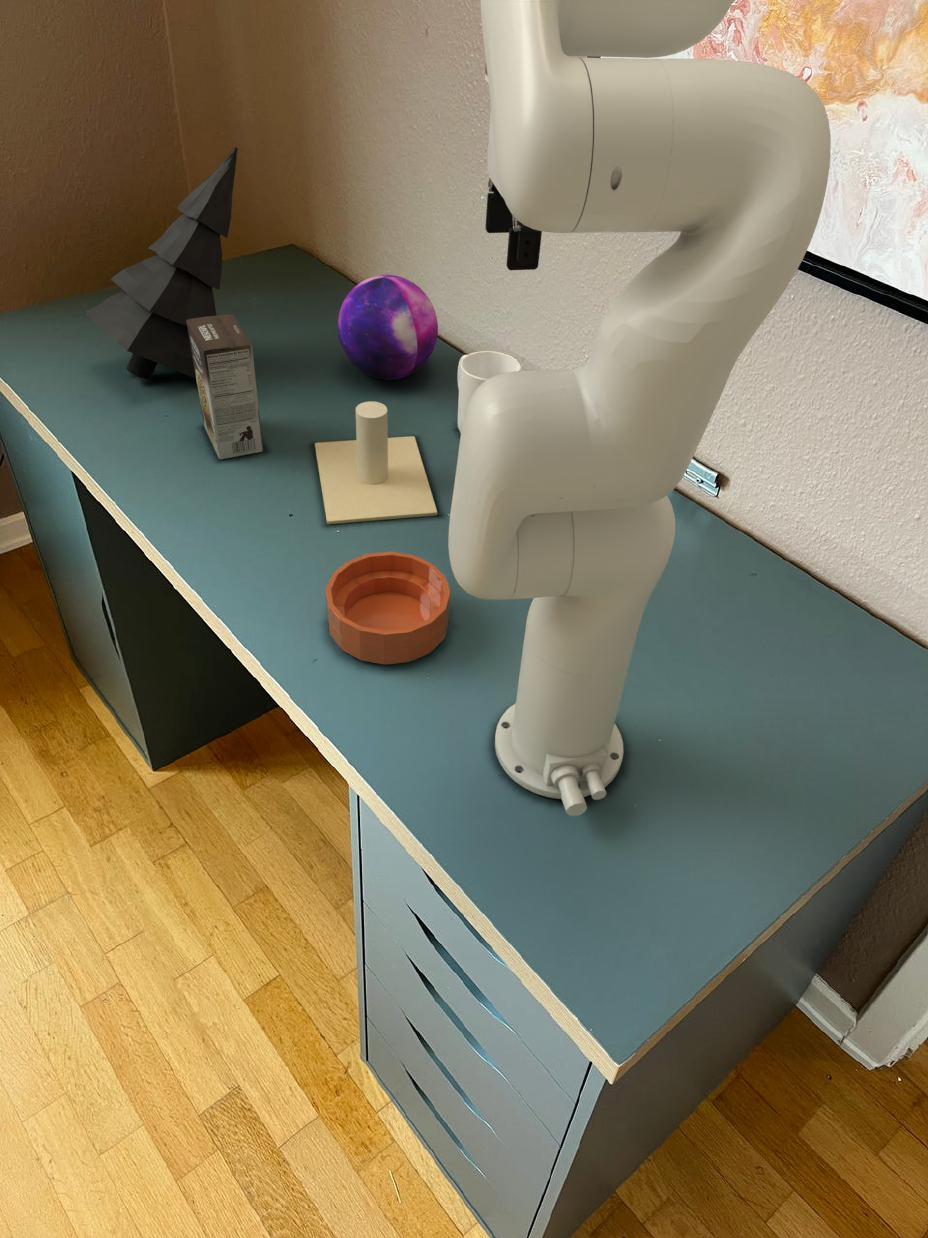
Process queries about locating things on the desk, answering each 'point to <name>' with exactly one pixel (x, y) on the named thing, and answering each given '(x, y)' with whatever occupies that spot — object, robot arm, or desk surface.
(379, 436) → the cream cylinder
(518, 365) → the cup
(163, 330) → the decorative tree
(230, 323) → the coffee box
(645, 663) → the desk surface
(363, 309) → the decorative orb
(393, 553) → the bowl
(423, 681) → the desk surface
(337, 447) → the mat
